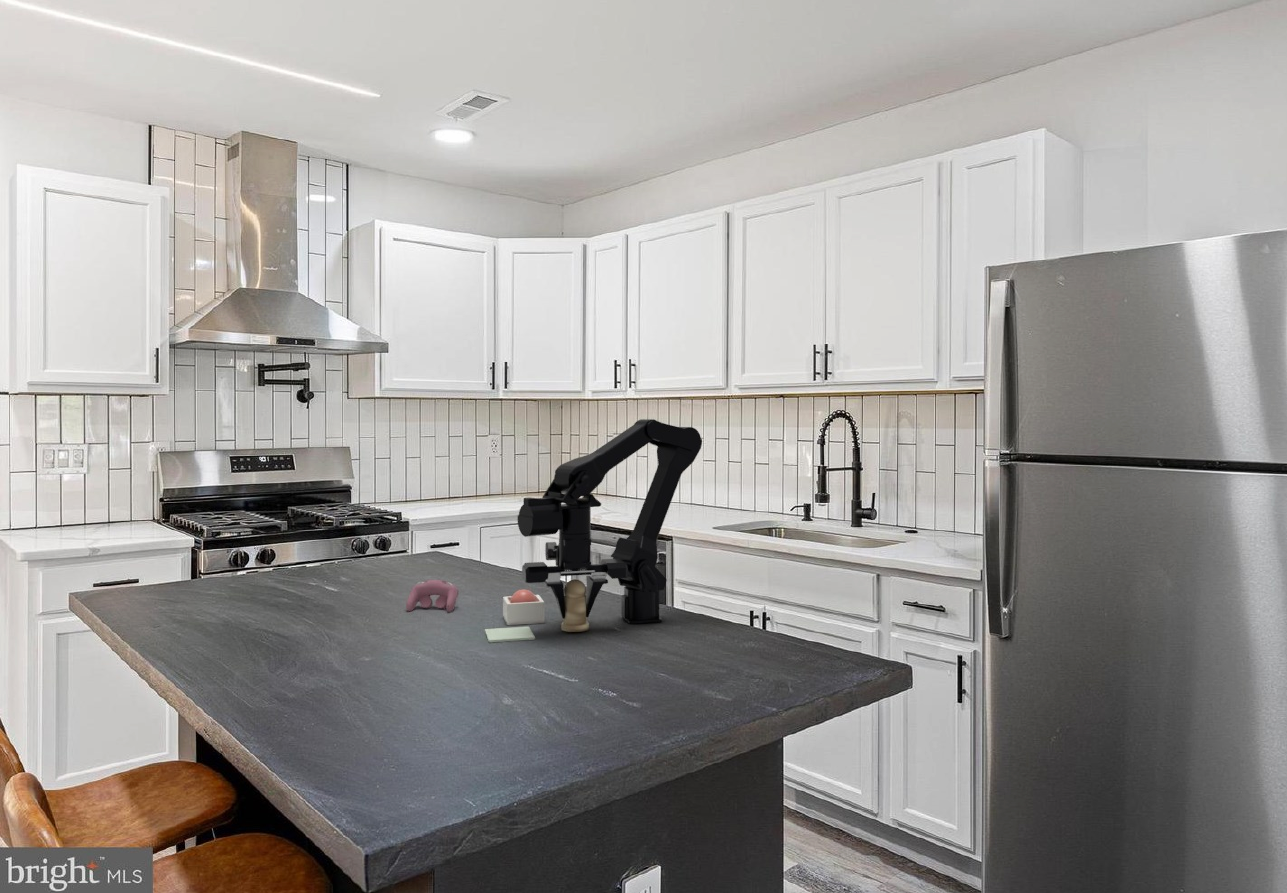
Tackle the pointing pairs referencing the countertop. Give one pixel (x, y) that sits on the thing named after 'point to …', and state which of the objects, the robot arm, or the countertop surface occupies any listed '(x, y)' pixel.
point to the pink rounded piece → (523, 596)
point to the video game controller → (433, 587)
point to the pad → (509, 634)
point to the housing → (523, 611)
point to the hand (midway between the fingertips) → (575, 617)
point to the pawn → (575, 607)
